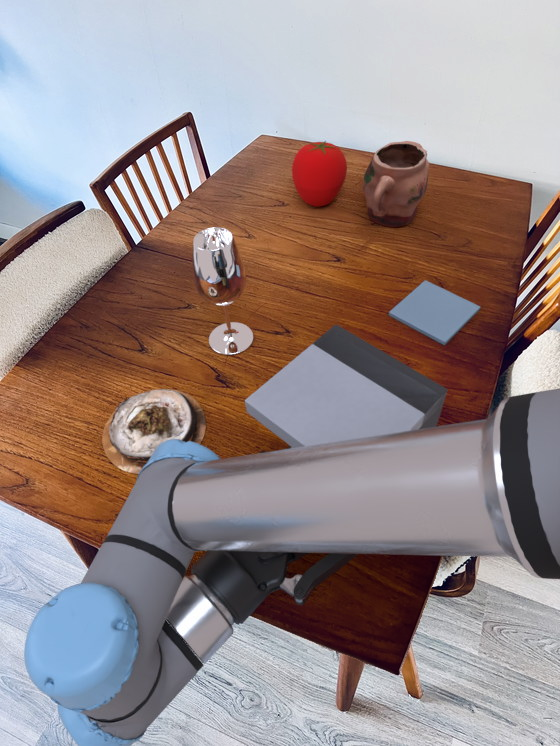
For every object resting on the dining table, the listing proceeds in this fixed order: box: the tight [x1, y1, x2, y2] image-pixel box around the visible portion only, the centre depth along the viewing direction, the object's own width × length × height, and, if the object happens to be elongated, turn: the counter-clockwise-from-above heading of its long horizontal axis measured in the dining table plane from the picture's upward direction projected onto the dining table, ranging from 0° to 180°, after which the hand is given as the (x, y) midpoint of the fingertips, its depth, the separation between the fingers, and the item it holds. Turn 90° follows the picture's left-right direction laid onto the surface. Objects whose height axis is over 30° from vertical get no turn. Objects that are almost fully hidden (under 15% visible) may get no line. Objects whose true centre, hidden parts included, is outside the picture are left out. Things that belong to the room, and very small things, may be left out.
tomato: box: [291, 140, 348, 208], centre depth 108 cm, size 11×11×13 cm
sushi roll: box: [101, 388, 207, 475], centre depth 74 cm, size 15×15×4 cm
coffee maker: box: [244, 324, 448, 448], centre depth 59 cm, size 14×14×22 cm
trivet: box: [388, 279, 481, 346], centre depth 88 cm, size 11×11×1 cm
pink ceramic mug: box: [362, 140, 431, 228], centre depth 102 cm, size 20×12×14 cm, turn 155°
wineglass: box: [192, 226, 254, 356], centre depth 80 cm, size 8×8×20 cm
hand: (353, 453), depth 62 cm, fingers closed on jar, 8 cm apart
